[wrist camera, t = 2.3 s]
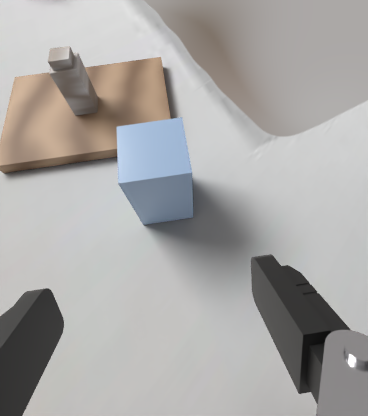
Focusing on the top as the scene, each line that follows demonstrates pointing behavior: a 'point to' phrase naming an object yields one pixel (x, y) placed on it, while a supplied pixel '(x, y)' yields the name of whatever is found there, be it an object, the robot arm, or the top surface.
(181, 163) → the light blue block
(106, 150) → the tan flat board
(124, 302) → the top surface
